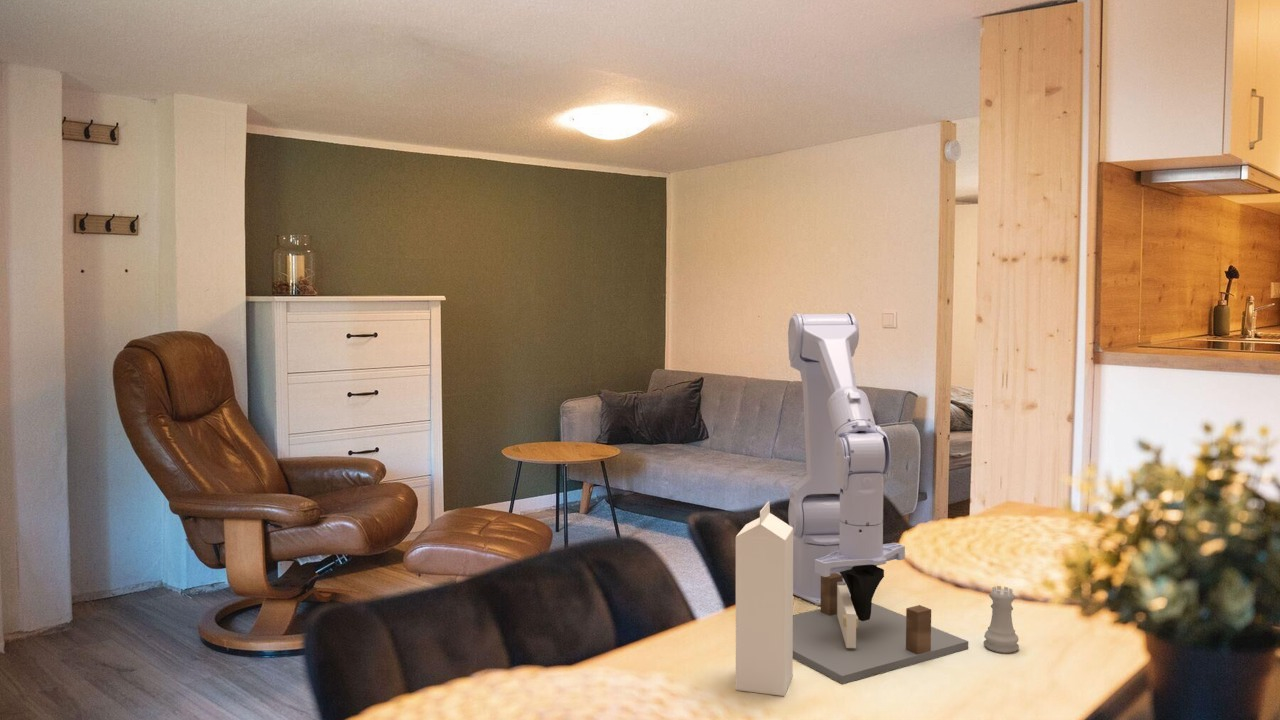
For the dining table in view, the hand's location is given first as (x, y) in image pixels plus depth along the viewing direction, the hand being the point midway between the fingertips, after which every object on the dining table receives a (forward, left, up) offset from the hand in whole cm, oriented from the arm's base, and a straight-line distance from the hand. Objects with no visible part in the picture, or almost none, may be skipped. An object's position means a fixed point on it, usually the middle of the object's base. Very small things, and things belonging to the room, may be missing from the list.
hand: (860, 618), depth 130 cm
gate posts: (0, +2, -2) cm, 3 cm away
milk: (+5, -20, -3) cm, 21 cm away
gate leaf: (-1, -2, -2) cm, 3 cm away
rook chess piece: (+12, +14, -3) cm, 19 cm away
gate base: (0, -1, -3) cm, 3 cm away
